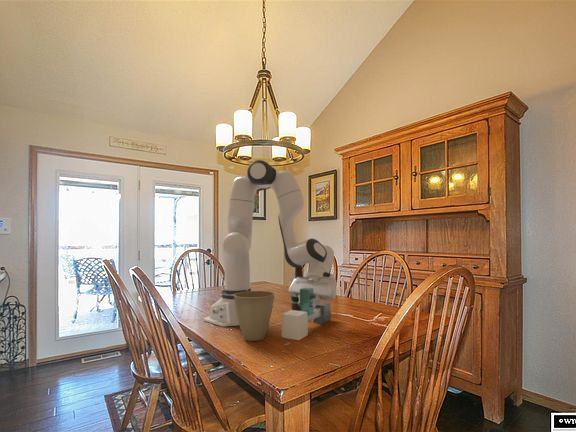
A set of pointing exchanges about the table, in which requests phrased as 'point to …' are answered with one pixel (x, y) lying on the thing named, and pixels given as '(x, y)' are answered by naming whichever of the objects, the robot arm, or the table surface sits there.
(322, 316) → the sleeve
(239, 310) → the plant pot
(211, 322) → the robot arm
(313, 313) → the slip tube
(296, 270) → the beer bottle
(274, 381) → the table surface
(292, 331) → the socket block
